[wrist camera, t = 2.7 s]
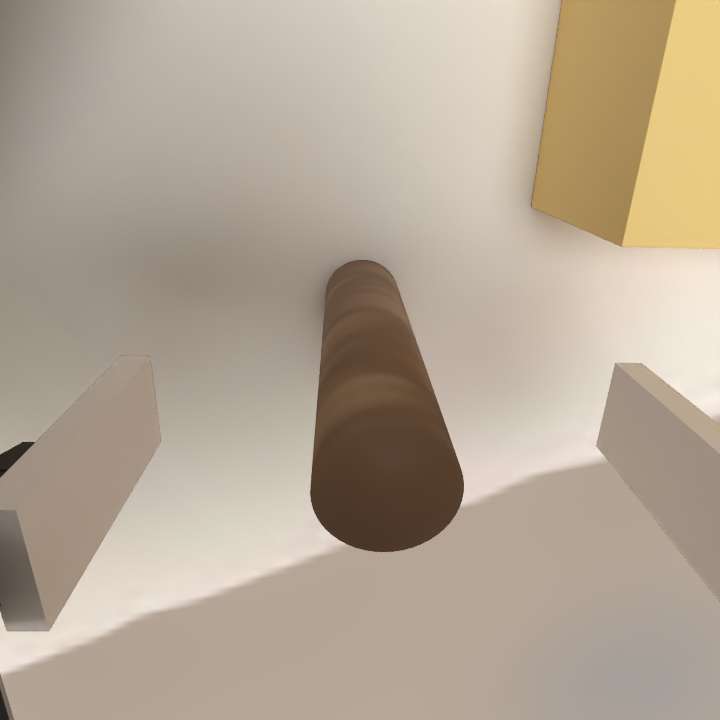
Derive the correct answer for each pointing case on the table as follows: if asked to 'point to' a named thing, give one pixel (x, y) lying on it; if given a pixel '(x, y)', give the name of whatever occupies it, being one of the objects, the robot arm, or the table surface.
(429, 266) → the table surface
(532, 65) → the table surface
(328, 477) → the walnut peg
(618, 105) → the hole block
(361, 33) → the table surface
